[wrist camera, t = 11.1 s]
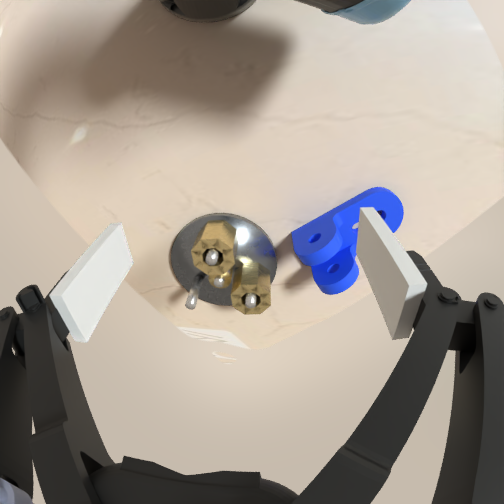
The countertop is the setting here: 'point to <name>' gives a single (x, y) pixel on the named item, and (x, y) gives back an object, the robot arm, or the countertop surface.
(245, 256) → the carrier
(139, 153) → the countertop surface
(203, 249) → the octagonal wooden tube
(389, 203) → the bracket
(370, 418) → the robot arm
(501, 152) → the countertop surface
